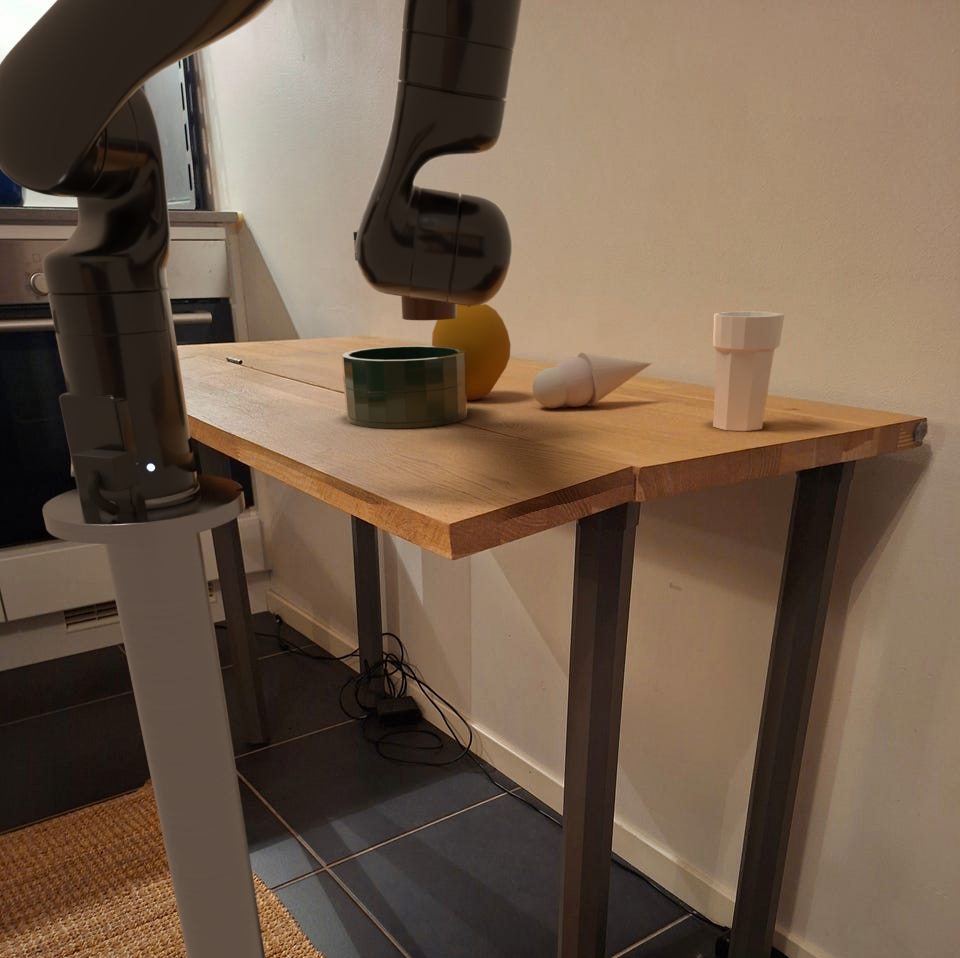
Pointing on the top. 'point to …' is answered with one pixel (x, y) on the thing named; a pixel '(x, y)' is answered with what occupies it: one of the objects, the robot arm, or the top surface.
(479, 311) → the apple
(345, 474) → the top surface
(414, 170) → the robot arm
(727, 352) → the cup
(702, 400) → the top surface
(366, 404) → the pot
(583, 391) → the ice cream cone
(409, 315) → the brown wooden cylinder
